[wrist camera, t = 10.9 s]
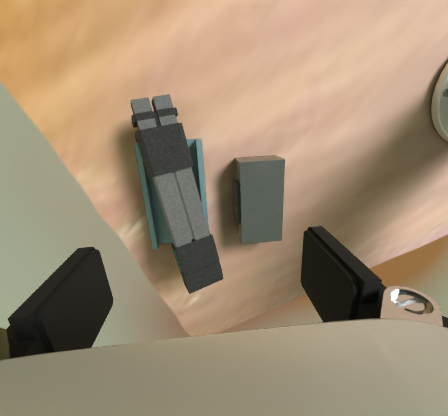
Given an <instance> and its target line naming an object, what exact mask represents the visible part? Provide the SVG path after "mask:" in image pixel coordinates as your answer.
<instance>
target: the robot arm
mask: <svg viewBox="0 0 448 416" xmlns="http://www.w3.org/2000/svg"><path fill="white" fill-rule="evenodd" d="M431 111H432V120H433V124H434V127H435V129H436V130H437V132H438V134H439V135H440V136H441V137H442V138H443V139H444V140H446V141H448V63H447V64H446V66H445V68H444V69H443V71H442V73H441V74H440V77H439V79H438V81H437V84H436V86H435V90H434V93H433V97H432V106H431ZM381 281H382V280H381V279H380V278H379V277H377V276H376V275H375V274H374V273H373V272H372V271H371V270H370V269H369V268H368V267H366V266H365V265H364V264H363V263H362V262H361V261H360V260H359V259H358V258H356V257H355V256H354V255H353V254H352V253H351V252H350V251H349V250H348V249H347V248H345V247H344V246H343V245H342V244H341V243H340V242H339V241H338V240H337V239H335V238H334V237H333V236H332V235H331V234H330V233H329V232H328V231H327V230H325V229H324V228H323V227H322V226H318V227H309V228H308V230H307V231H304V238H303V253H302V268H301V284H302V286H303V288H304V290H305V292H306V293H307V295H308V297H309V298H310V300H311V302H312V303H313V305H314V307H315V309H316V310H317V312H318V314H319V316H320V317H321V319H322V320H323V322H322V323H313V324H303V325H294V326H284V327H275V328H265V329H256V330H247V331H238V332H229V333H220V334H211V335H201V336H192V337H183V338H175V339H166V340H157V341H148V342H139V343H130V344H121V345H112V346H103V347H95V348H91V347H92V345H93V343H94V341H95V339H96V337H97V335H98V333H99V331H100V329H101V327H102V325H103V323H104V321H105V319H106V317H107V315H108V313H109V311H110V309H111V307H112V305H113V297H112V293H111V290H110V286H109V283H108V279H107V276H106V272H105V269H104V265H103V262H102V258H101V255H100V252H99V250H96V249H95V248H94V247H86V248H78V249H77V250H76V251H75V252H74V253H73V254H72V255H71V256H70V257H69V258H68V259H67V260H66V261H65V262H64V263H63V264H62V265H61V266H60V267H59V268H58V269H57V270H56V271H55V272H54V273H53V274H52V275H51V276H50V277H49V278H48V279H47V280H46V281H45V282H44V283H43V284H42V285H41V286H40V287H39V288H38V289H37V290H36V291H35V292H34V293H33V294H32V295H31V296H30V297H29V298H28V299H27V300H26V301H25V302H24V303H23V304H22V305H21V306H20V307H19V308H18V309H17V310H16V311H15V312H14V313H13V314H12V315H11V316H10V317H9V318H8V321H9V323H10V326H9V327H8V328H7V329H6V330H5V329H3V328H0V416H448V318H446V317H444V316H441V311H440V308H439V306H438V304H437V303H436V302H435V301H434V300H433V299H432V298H430V297H429V296H427V295H425V294H424V293H421V292H419V291H417V290H414V289H412V288H408V287H403V286H393V287H388V288H386V287H385V286H384V285H383V284H382V283H381Z"/></svg>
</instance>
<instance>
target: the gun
mask: <svg viewBox="0 0 448 416" xmlns="http://www.w3.org/2000/svg"><path fill="white" fill-rule="evenodd" d="M152 105H153V109H154V112H153V111H152V108H151V105H150V101H149V98H142V99H135V100H131V108H132V111H133V114H134V115H132V124H133V127H138V130H139V131H138V132H135V138H136V141H137V144H138V147H139V150H140V153H141V156H142V160H143V163H144V166H145V169H146V172H147V175H148V178H151V177H152V179H153V182H154V185H155V188H156V191H157V195H158V198H159V201H160V204H161V207H162V210H163V213H164V217H165V220H166V223H167V226H168V229H169V232H170V235H171V239H172V242H173V243H172V247H173V251H174V254H175V257H176V260H177V263H178V266H179V269H180V272H181V275H182V278H183V281H184V284H185V286H186V288H187V290H188V292H189V294H190V293H193V292H195V291H197V290H199V289H202V288H204V287H206V286H208V285H211V284H213V283H215V282H217V281H220V280H222V279H223V273H222V269H221V265H220V262H219V257H218V253H217V250H216V246H215V242H214V239H213V235H211V234H210V232H209V228H208V225H207V221H206V217H205V214H204V210H203V207H202V203H201V200H200V196H199V193H198V189H197V186H196V182H195V179H194V175H193V172H192V168H191V167H192V166H194V165H193V162H192V158H191V155H190V151H189V148H188V144H187V140H186V137H185V133H184V130H183V126H182V123H177V119H176V117H177V115H178V113H177V109H176V108H173V105H172V102H171V98H170V94H169V95H162V96H155V97H153V99H152Z"/></svg>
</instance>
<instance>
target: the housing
mask: <svg viewBox="0 0 448 416" xmlns="http://www.w3.org/2000/svg"><path fill="white" fill-rule="evenodd" d="M284 168H285V159H283V158H280V157H278V156H276V155H272V156H257V157H242V158H235V172H236V180H233V182H234V208H235V219H236V222H237V229H238V234H239V237H240V240H241V243H242V244H250V243H260V242H271V241H281V240H282V221H283V194H284Z"/></svg>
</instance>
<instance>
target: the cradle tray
mask: <svg viewBox="0 0 448 416" xmlns="http://www.w3.org/2000/svg"><path fill="white" fill-rule="evenodd" d="M186 140H187V144H188V148H189V151H190V155H191V158H192V162H193V165H194V166H192V167H191V168H192V172H193V175H194V179H195V182H196V186H197V189H198V193H199V196H200V200H201V203H202V207H203V210H204V214H205V217H206V221H207V225H208V213H207V201H206V189H205V176H204V164H203V152H202V140H201V139H186ZM134 147H135V153H136V159H137V164H138V170H139V175H140V181H141V187H142V192H143V198H144V203H145V209H146V214H147V220H148V226H149V231H150V237H151V242H152V248H153V250H158V248H159V245H160V244H164V243H173V242H172V239H171V235H170V232H169V229H168V226H167V223H166V220H165V217H164V213H163V210H162V207H161V204H160V201H159V198H158V195H157V191H156V188H155V185H154V182H153V179H152V177H151V178H148V175H147V172H146V169H145V166H144V163H143V160H142V156H141V153H140V150H139V147H138V144H137V143H135V144H134ZM208 228H209V225H208Z"/></svg>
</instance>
